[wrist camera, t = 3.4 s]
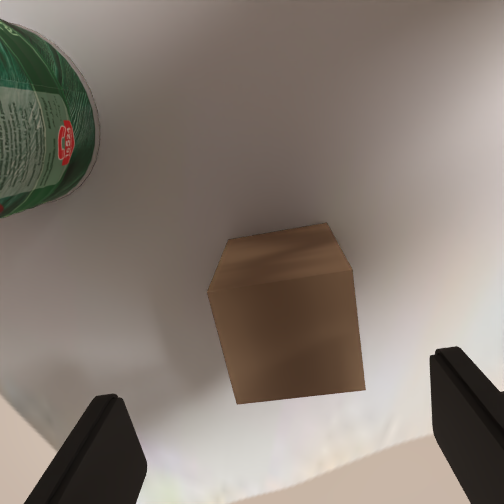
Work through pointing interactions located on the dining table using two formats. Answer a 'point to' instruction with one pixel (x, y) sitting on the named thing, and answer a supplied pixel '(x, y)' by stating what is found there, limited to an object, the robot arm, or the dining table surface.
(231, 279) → the walnut block
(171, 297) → the dining table surface
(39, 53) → the canned tomato
